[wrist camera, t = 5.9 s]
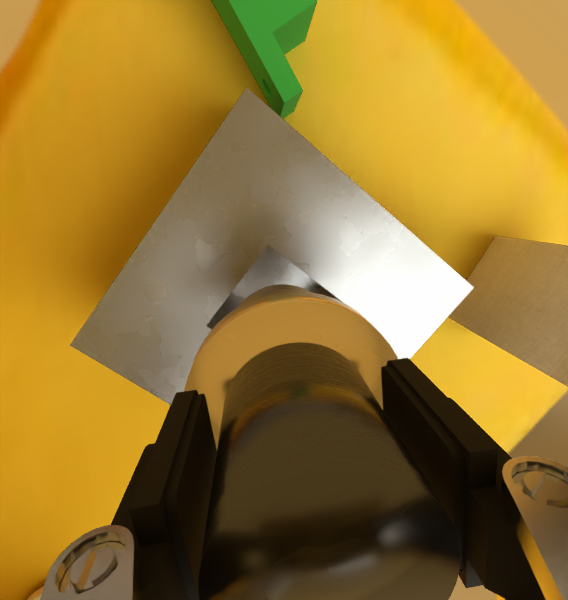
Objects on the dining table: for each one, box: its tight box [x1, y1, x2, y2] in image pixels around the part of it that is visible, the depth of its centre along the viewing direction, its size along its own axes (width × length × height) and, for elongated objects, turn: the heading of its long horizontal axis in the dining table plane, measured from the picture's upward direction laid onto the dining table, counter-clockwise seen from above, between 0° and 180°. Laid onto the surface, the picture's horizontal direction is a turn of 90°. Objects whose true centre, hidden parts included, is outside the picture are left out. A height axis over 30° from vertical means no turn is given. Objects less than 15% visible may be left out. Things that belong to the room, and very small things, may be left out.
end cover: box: [184, 284, 461, 600], centre depth 11 cm, size 7×7×11 cm
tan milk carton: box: [448, 236, 568, 386], centre depth 22 cm, size 4×7×10 cm, turn 152°
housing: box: [70, 87, 474, 405], centre depth 22 cm, size 16×16×6 cm
